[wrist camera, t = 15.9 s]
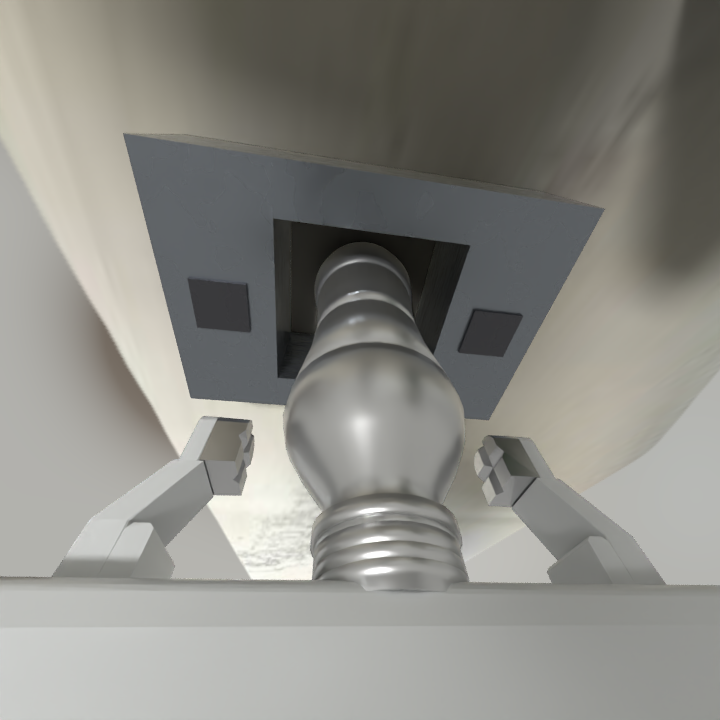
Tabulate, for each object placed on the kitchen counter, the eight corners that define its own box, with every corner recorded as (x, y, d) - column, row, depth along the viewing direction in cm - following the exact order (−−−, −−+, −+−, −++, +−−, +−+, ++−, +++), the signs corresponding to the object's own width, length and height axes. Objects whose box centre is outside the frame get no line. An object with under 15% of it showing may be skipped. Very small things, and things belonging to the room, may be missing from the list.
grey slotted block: (185, 134, 17) (120, 133, 12) (541, 191, 20) (607, 209, 15) (219, 349, 26) (189, 400, 21) (464, 371, 28) (489, 422, 23)
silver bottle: (359, 333, 26) (378, 666, 9) (298, 275, 23) (171, 621, 6) (422, 283, 23) (594, 616, 7) (364, 211, 20) (431, 503, 4)
